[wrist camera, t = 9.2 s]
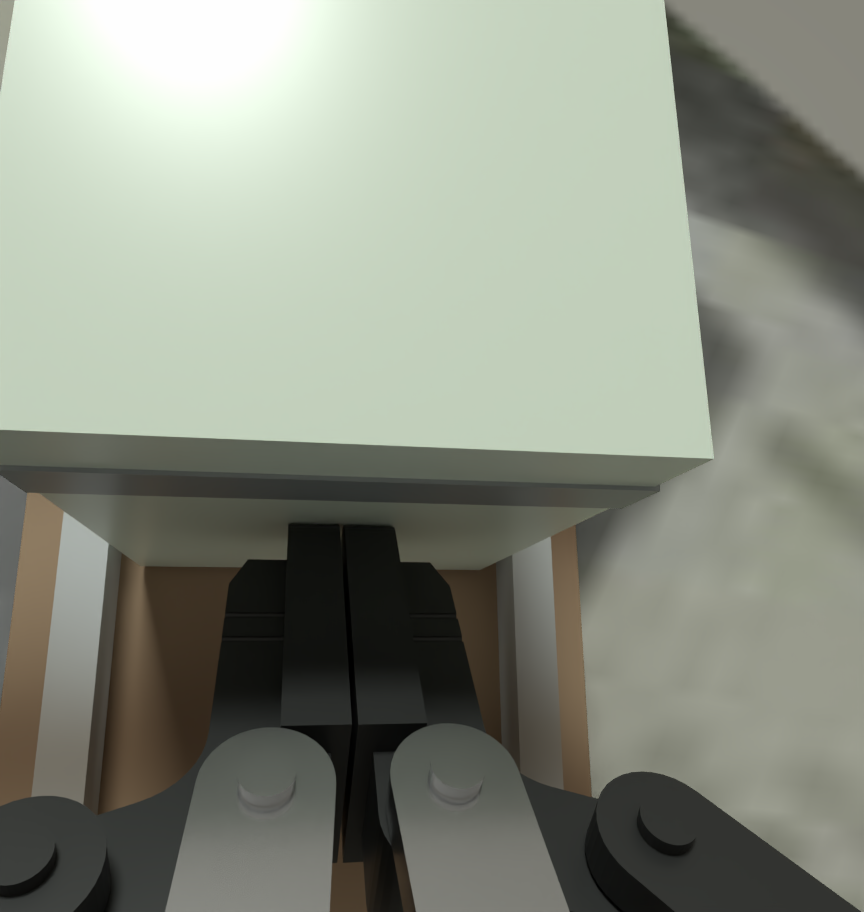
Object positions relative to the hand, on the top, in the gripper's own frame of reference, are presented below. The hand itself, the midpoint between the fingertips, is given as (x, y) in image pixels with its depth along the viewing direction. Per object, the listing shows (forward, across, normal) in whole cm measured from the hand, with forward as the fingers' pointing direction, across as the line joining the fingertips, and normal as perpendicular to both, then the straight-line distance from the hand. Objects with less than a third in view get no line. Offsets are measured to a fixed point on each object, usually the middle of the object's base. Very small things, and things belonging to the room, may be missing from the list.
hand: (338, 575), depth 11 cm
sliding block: (+5, 0, 0) cm, 5 cm away
